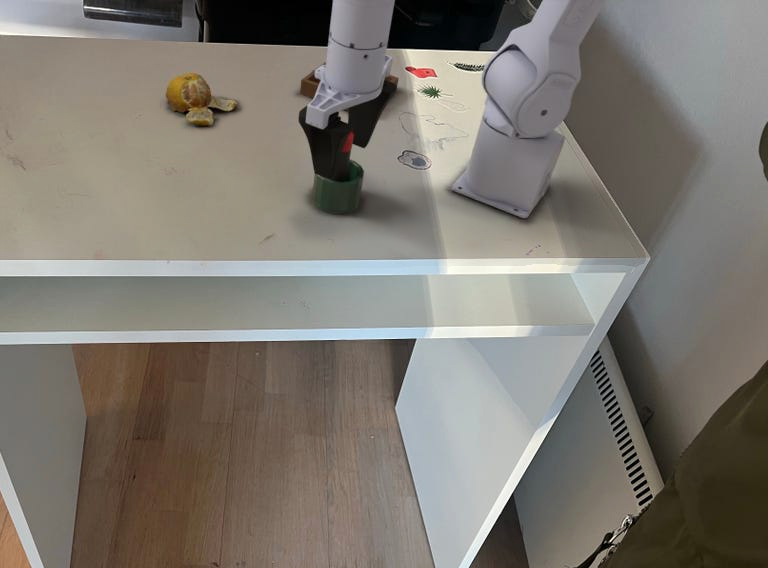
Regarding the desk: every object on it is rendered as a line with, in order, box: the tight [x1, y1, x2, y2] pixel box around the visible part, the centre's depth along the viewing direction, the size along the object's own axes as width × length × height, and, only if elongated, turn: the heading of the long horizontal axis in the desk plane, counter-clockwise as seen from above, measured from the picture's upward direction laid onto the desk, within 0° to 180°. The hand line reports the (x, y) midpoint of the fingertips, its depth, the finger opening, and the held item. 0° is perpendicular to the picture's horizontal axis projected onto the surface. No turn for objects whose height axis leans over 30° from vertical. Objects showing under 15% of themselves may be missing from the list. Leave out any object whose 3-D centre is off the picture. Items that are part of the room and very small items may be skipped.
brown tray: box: [299, 61, 399, 112], centre depth 103 cm, size 10×9×2 cm
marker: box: [330, 132, 354, 182], centre depth 83 cm, size 2×2×8 cm
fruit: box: [165, 72, 238, 126], centre depth 97 cm, size 8×8×4 cm
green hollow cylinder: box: [311, 158, 365, 215], centre depth 85 cm, size 5×5×4 cm
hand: (341, 159), depth 82 cm, fingers open, 7 cm apart
